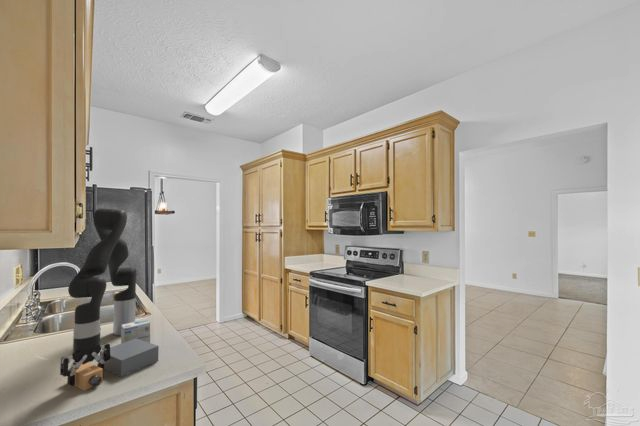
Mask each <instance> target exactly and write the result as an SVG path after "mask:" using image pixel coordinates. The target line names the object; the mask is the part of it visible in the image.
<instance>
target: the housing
mask: <svg viewBox="0 0 640 426" xmlns="http://www.w3.org/2000/svg"><path fill="white" fill-rule="evenodd" d="M69 369H70V367H68V370H69ZM74 375H75V385H74V387H77V388H78V389H80V390H82V391H87V390H88V389H91V388H94V387H97V386H98V385H100V384H103V383H104V380H103V376H104V372H103V369H102V368H100V367H98V366H97V365H95V364H93V363H91V362H87V363H86V364H83V365H82V364H81V366H80V367H79V369H77V371H76V372H75V374H74Z"/></svg>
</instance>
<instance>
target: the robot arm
mask: <svg viewBox="0 0 640 426" xmlns="http://www.w3.org/2000/svg"><path fill="white" fill-rule="evenodd" d="M127 215H128V214H127V212H126V211H125V210H124V209H118V208H117V209H115V208H97V209H96V210H95V211H94V212H93V216H92V219H93V220H92V221H93V225H94V228H95V230H96V232H97V235H98V237H99V240H100V241H99V242H98V243H96V244H95V245H94V246H93V247H92V248H91V249H90V251H89V252H88V253H87V256H86V259H85V262H84V263H83V266H82V267H81V269H80V270H79V271H78V272H77V273H76V275H75V276H74V277H73V278H72V280H71V281H70V283H69V285H68V288H67V289H68V290H67V291H68V295H69V297H71V298H73V299H82V298H91V299H90V301H89V302H85V303H82V304H79V305H77V306H76V307H75V309H74V324H73V325H74V326H73V336H72V337H73V338H72V339H73V340H72V341H73V342H72V347H73V348H72V351H73V352H72V354H71V355H68V356H62V357H61V359H60V372H59V374H60V376H62V377H64V378H66V377H67V379H66V380H67V385H68V386H70V387H75V375H74V374H75V372H76V371H77V369H79V367H80V366H81V364H82V365H83V364H86V363H87V362H89V363H91V362H93V361H94V360H95V361H96V362H97V365H96V366H98V367H100V368H102V369H103V373H104V371H105V369H104V363H105V362H106V361H107V360H109V359H110V347H111V344H109V343H107V342H105V343H103V344H101V317H100V315H101V305H102V301H103V298H104V295H105V292H106V289H107V281H106V279H105V278H104V277H102V276H100V275H102V274H104V273H105V272H106V271H107V268H108V271H109V277H110V283H111V285H112V286H114V287H125V286H128V287H127V288H125V289H124V290H122V291H119V292H116V293H115V294H114V295H113V331H112V332H113V335H114V336H121V325H122V324H128V323H132V322H136V298H137V297H136V295H137V294H136V293H137V292H136V286H137V269H136V267H134V266H133V267H131V266H130V267H120V266H121V265H123V263H124V262H126V260H127V259H128V258H129V247H128V244H127V242H126V241H125V240H124V239H123V238H122V237H121V236H122V234H123V233H124V231H125V228H126V225H127V223H128V216H127ZM102 350H103V358H101V357H100V351H102ZM72 360H73V361H72ZM71 361H72V363H71ZM70 363H71V365H70V367H69V364H70ZM69 368H70V369H69Z"/></svg>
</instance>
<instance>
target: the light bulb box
mask: <svg viewBox="0 0 640 426" xmlns="http://www.w3.org/2000/svg"><path fill="white" fill-rule="evenodd" d="M136 338H137V339H140V340H143V341H146V342H149V343H151V322H150V321H149V320H148V319H147V318H146V319H142V320H137V321H136V320H135V322H132V323H128V324H122V325H121V335H120V344H122V343H125V342H127V341H130V340H133V339H136Z"/></svg>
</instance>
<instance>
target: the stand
mask: <svg viewBox="0 0 640 426" xmlns="http://www.w3.org/2000/svg"><path fill="white" fill-rule="evenodd" d="M159 347H160V346H159V345H157V344H154V343H151V342H150V343H149V342H146V341H143V340H140V339H137V338H136V339H133V340H130V341H127V342H125V343H122V344H121V343H120V344H119V343H118V344H117V345H114V346H110V359H109V360H107V361H106V362H105V363H104V370H106V371H108V372H109V373H113V374H115V375H116V376H119V377H121V378H122V377H124V376H126V375H129V374H131V373H133V372H136V371H138V370H141V369H142V368H145V367H146V366H149V365H151V364H152V365H153V364H154V363H156V362H158V361H159ZM99 356H100V357H101V358H103V350H102V349H101V350H100V352H99Z"/></svg>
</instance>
